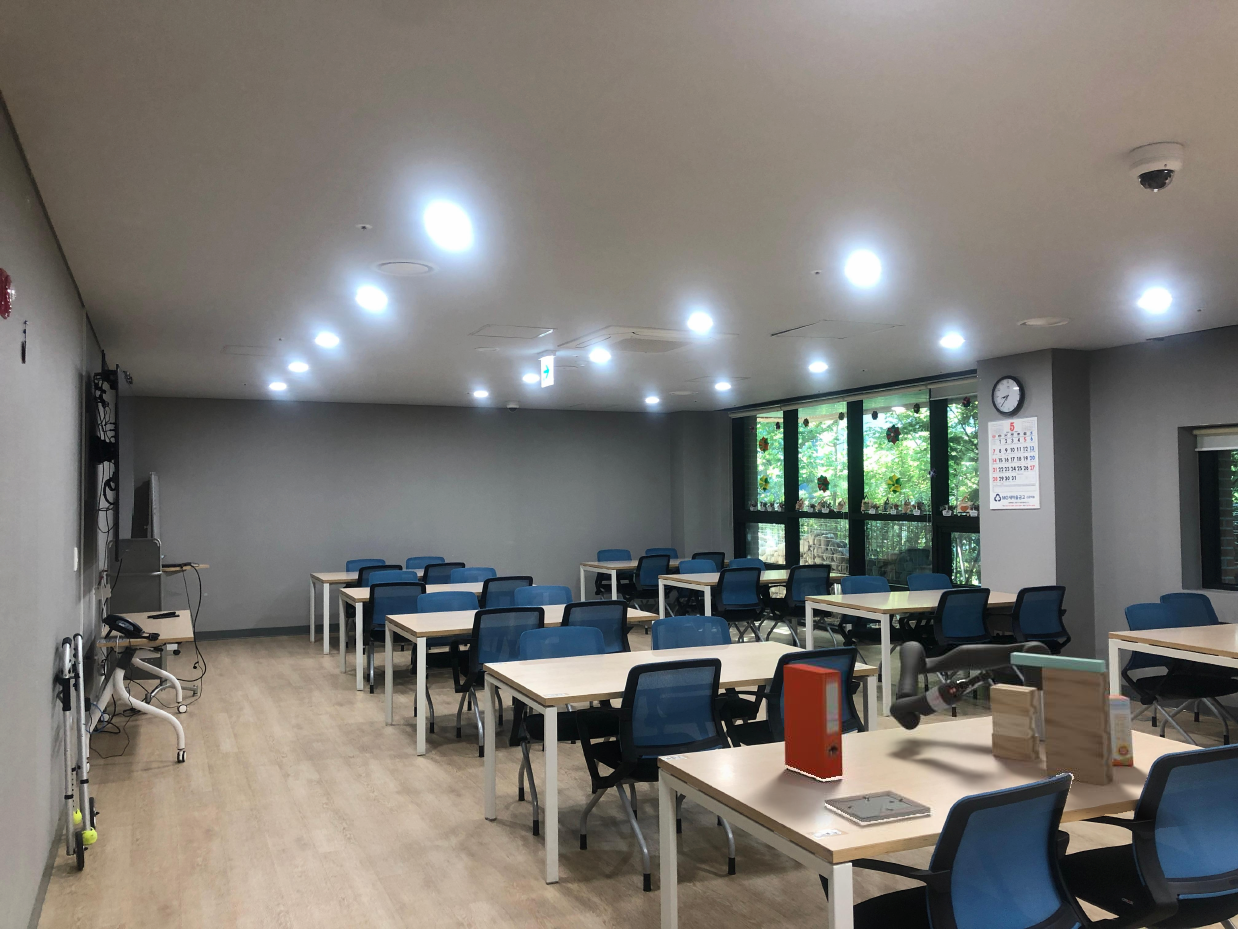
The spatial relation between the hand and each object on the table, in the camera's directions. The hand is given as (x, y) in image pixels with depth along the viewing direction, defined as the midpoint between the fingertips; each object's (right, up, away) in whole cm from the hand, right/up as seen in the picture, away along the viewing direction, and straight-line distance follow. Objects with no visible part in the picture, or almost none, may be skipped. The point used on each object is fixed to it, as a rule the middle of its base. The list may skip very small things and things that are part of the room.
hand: (985, 675), depth 283 cm
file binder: (-58, -27, -14) cm, 66 cm away
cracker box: (+36, -26, -6) cm, 45 cm away
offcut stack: (+12, -27, +4) cm, 30 cm away
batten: (+16, +6, -15) cm, 22 cm away
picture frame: (-49, -25, -48) cm, 73 cm away
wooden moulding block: (+19, -25, -21) cm, 38 cm away
